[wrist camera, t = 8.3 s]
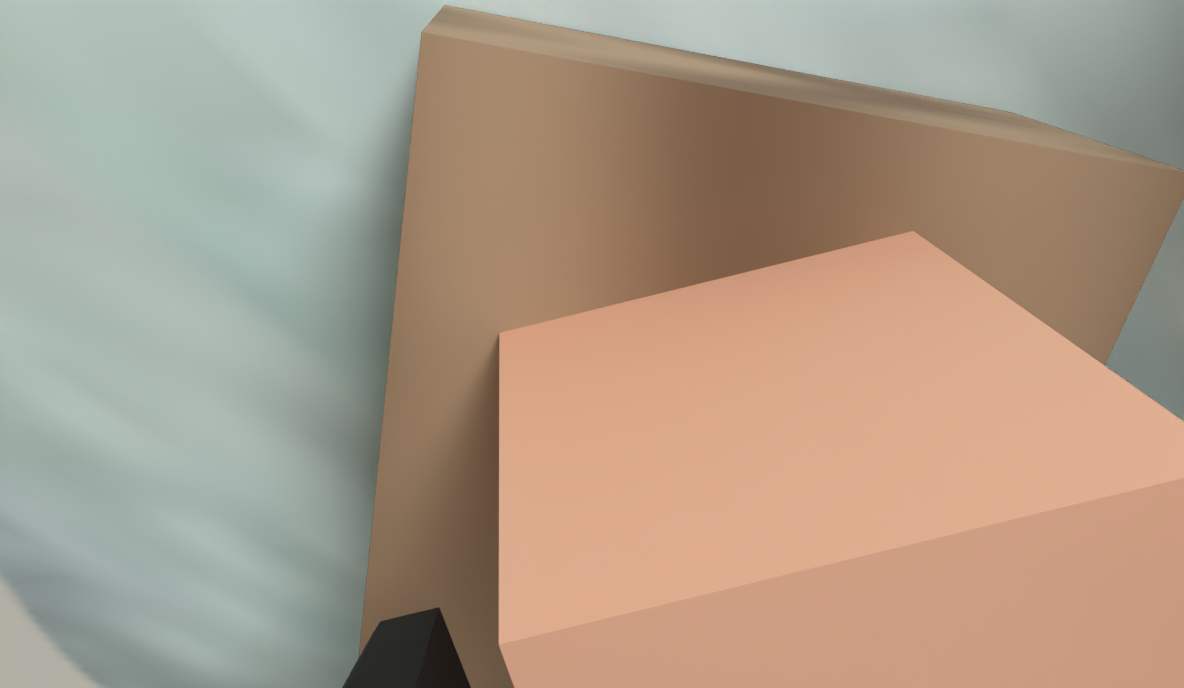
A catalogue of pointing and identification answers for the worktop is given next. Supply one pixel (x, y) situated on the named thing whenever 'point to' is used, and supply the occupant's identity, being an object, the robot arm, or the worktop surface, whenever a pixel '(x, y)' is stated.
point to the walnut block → (681, 241)
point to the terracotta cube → (833, 490)
